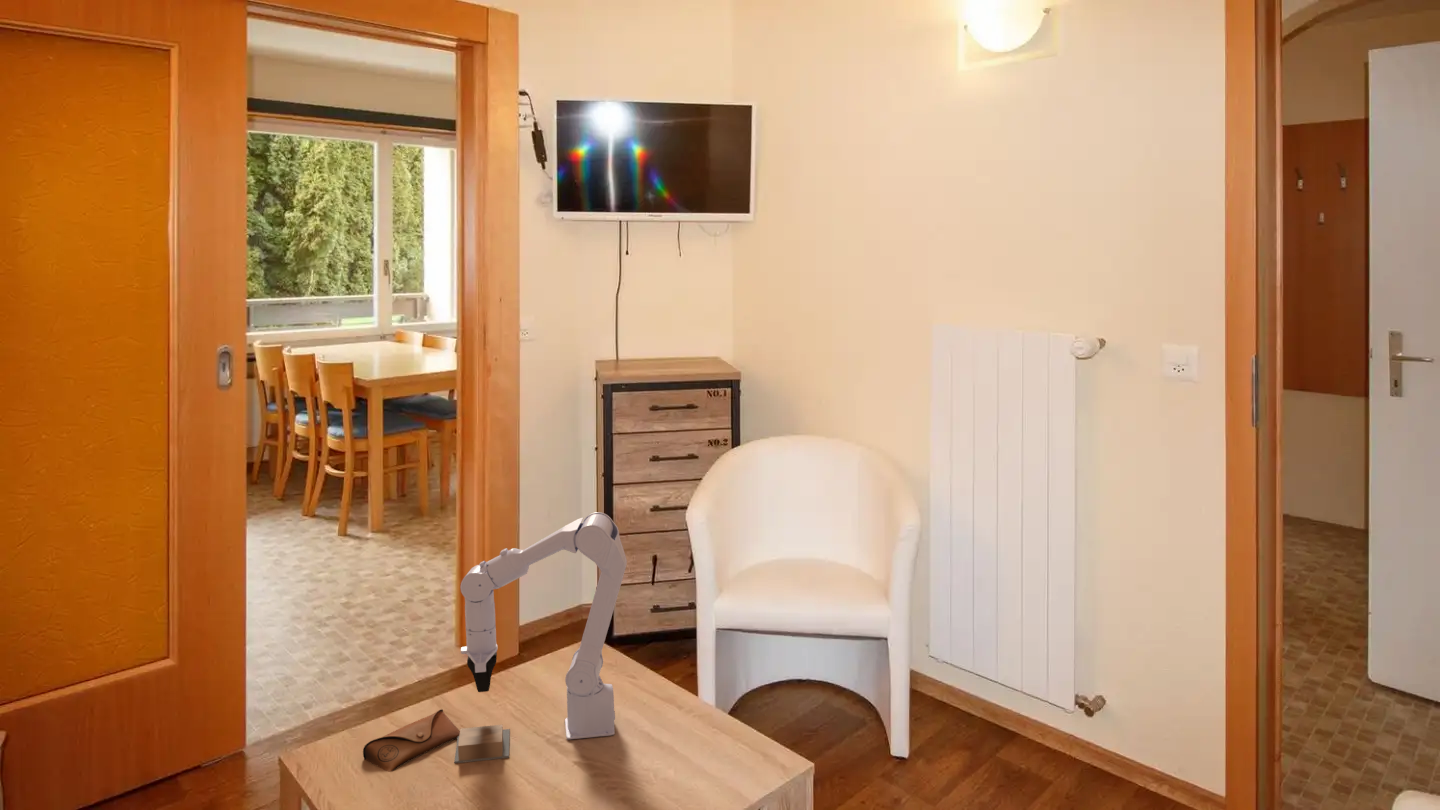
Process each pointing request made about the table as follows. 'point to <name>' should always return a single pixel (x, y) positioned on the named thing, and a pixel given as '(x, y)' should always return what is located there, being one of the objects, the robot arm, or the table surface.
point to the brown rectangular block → (480, 742)
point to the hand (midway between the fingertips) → (483, 690)
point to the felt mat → (504, 755)
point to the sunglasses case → (410, 741)
